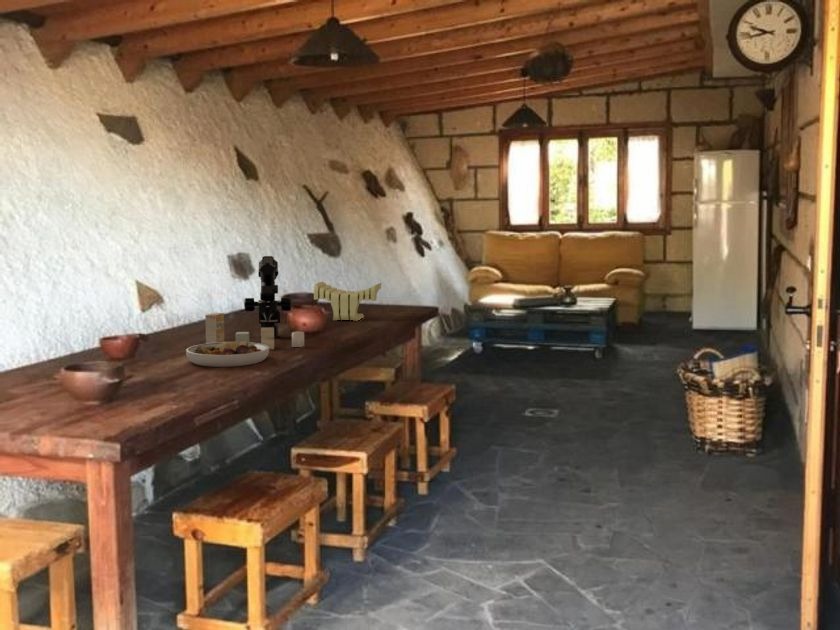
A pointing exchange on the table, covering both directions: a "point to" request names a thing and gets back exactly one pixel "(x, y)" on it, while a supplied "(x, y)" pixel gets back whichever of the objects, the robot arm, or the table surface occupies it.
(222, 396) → the table surface
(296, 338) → the beige square block
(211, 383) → the table surface
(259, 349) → the bowl
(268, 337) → the beech block
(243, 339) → the sage cube
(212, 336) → the supplement box
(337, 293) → the slatted curved stool
